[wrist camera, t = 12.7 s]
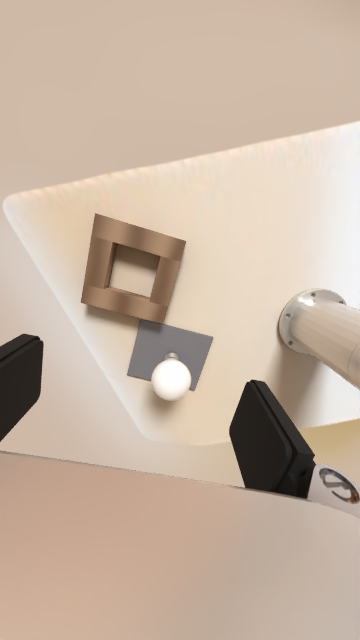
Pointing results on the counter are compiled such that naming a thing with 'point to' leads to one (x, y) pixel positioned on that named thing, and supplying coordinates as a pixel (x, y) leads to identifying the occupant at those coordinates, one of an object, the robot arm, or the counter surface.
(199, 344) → the mat
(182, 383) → the lightbulb
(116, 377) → the counter surface
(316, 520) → the robot arm
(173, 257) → the socket collar
